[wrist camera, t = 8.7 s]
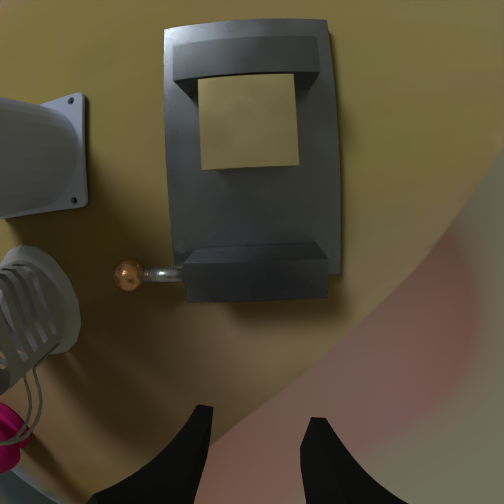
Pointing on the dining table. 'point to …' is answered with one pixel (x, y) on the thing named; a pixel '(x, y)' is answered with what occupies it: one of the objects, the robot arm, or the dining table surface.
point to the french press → (33, 318)
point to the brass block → (248, 122)
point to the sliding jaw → (237, 273)
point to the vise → (253, 180)
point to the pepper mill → (5, 427)
